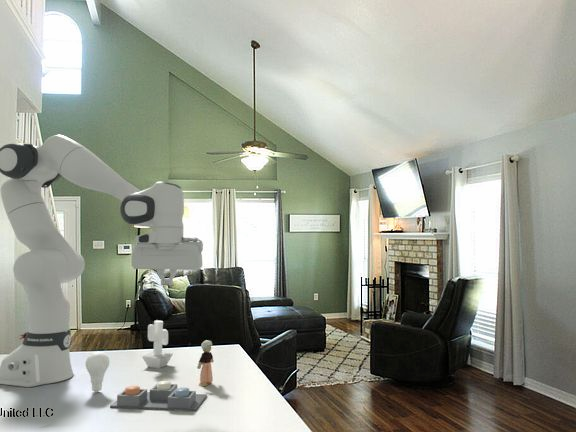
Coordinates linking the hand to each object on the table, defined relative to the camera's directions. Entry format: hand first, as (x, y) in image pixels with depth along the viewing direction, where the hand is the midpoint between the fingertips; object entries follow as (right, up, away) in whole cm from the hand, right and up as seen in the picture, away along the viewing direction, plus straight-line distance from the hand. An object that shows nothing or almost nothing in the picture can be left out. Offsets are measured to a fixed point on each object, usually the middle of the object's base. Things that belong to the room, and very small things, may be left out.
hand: (166, 285), depth 135 cm
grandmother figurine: (+11, -30, +3) cm, 32 cm away
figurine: (-9, -30, +21) cm, 38 cm away
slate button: (+8, -27, -16) cm, 33 cm away
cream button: (+2, -28, -11) cm, 30 cm away
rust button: (-5, -27, -15) cm, 31 cm away
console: (+2, -29, -13) cm, 31 cm away
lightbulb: (-18, -29, -6) cm, 34 cm away
